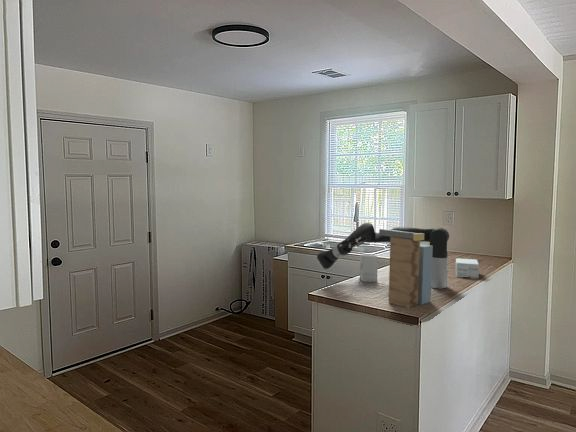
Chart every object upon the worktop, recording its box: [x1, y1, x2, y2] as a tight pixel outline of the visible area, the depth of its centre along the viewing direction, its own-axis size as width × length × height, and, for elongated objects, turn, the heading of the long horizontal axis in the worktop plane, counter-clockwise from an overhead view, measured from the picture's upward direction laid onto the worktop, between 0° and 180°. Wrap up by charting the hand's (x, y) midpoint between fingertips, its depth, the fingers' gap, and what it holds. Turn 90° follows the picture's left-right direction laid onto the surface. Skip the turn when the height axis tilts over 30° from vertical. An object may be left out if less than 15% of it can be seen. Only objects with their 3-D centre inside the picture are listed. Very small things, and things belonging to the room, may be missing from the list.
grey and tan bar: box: [378, 228, 424, 241], centre depth 210 cm, size 6×24×3 cm, turn 36°
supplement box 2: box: [455, 257, 480, 279], centre depth 277 cm, size 17×13×9 cm
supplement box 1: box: [359, 254, 379, 283], centre depth 259 cm, size 9×9×15 cm
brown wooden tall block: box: [388, 237, 421, 309], centre depth 209 cm, size 7×12×32 cm, turn 36°
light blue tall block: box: [418, 243, 433, 305], centre depth 215 cm, size 7×12×28 cm, turn 36°
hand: (360, 237), depth 231 cm, fingers open, 8 cm apart
